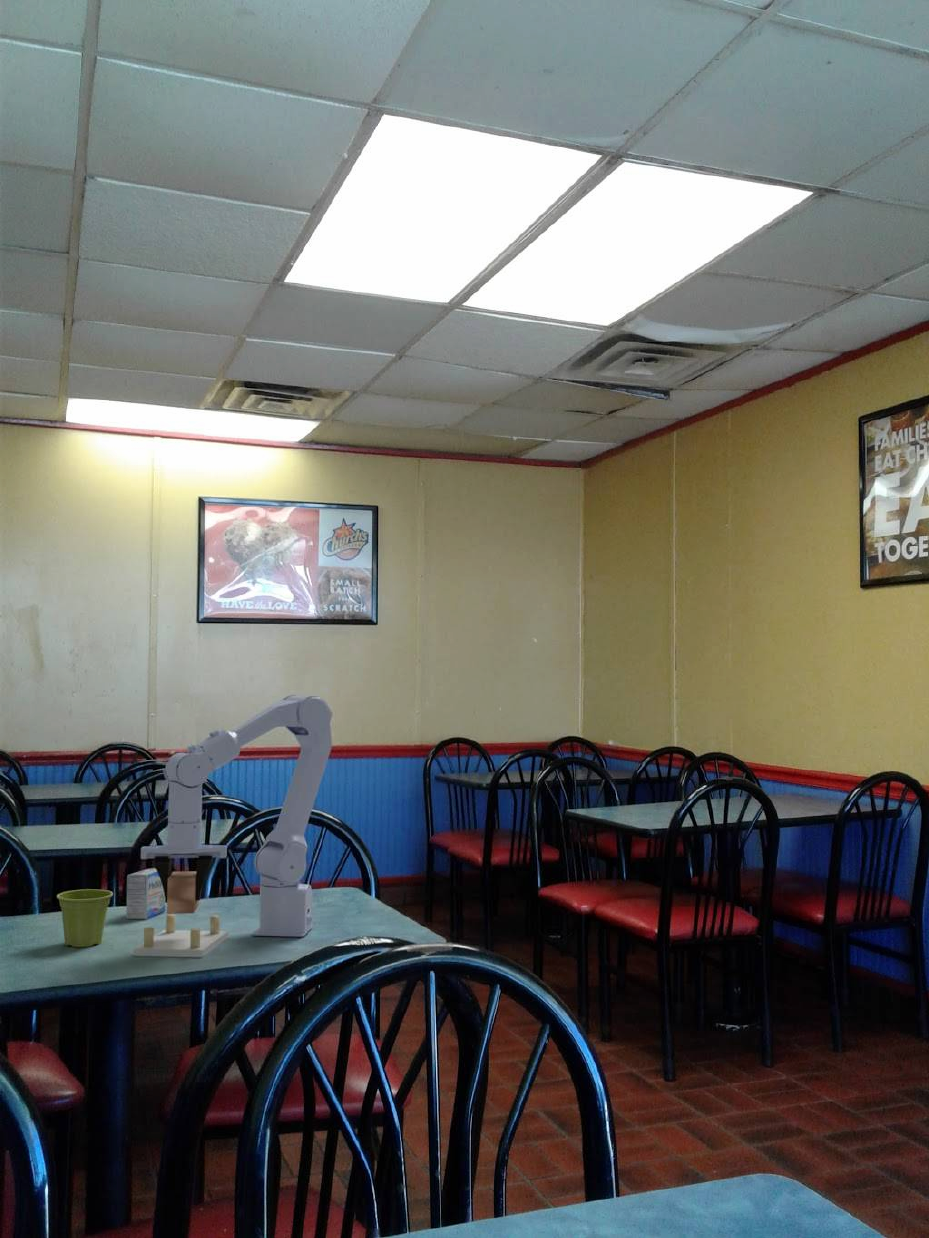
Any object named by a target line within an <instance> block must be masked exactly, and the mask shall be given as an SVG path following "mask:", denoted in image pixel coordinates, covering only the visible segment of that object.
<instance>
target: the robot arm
mask: <svg viewBox="0 0 929 1238" xmlns="http://www.w3.org/2000/svg"><path fill="white" fill-rule="evenodd" d="M332 718H333V712H332V710H331V709H330V706H329V705H328V703H327V701H326V700H325V699H324V698H323V697H321V696H319V695H317V694H316V695H296V694H289V695H286V696H285V697H284V698H282V699H280V700H276V701H274V702H273V703H272V704H270V705H269V706H268V707H266V708H264V709H263V710H261V711H260V712H258V713H257V714H256V715H254V716H253V717H251V718H249V719H248V720H247V721H245V722H243V723H242V724H240V725H239V726H237V727H236V728H235V729H233V730H231V731H229V730H226V729H220V730H219V729H214V730H211V731H210V732H209V733H208V734H209V736H208V737H207V738H205V739H204V740H201V741H200V742H198V743H197V744H190V745H188V746H187V748H186V749H187V752H177V753H174V754H173V755H171V757H169V758H168V761H167V762H166V764H165V768H163V770H162V771H163V776H164V778H165V779H166V781H167V782H168V807H167V808H168V809H167V810H168V811H167V816H168V817H167V845H166V844H165V845H152V846H149V845H148V846H145V845H144V846H142V847H141V848H140V859H141V860H148V859H154V862H153V866H154V868H156V870H157V872H158V875H159V877H160V879H161V882H162V885H163V889H164V894H165V902H167V888H168V878H169V876H170V875H171V874H172V866H173V865H172V864H173V859H195V858H197V859H196V862H195V868H196V870H195V871H196V875H197V882H196V901H199V902H200V900H201V899H202V893H203V892H202V891H203V887H204V883H205V880H206V877H207V874H208V872H209V870H210V867H211V865H212V863H213V861H214V858H219V859H226V858H227V855H228V853H227V852H228V850H227V849H228V846H227V845H225V844H224V845H217V844H216V845H214V844H202V822H203V821H202V819H203V818H202V813H203V811H202V810H203V784H204V783H205V782H206V781H207V779H208V776H209V775H211V774H212V773H214V772H215V771H216V770H218V769H220V768H221V767H223V766H224V765H226V764H229V762H232V761H233V760H234V759H236V758H238V757H239V756H240V753H241V749H242V747H243V746H245V745H247V744H248V743H250V742H252V741H254V740H256V739H257V738H259V737H262V736H263V735H266V733H269V732H270V731H272V730H274V729H276V728H279V727H285V728H286V729H287V730H288V731H289V732H290V733H291V734H292V735H293V736H294V737H295V739H296V741H297V742H298V745H299V746H300V749H301V750H300V752H299V756H298V758H297V760H296V765H295V767H294V771H293V774H292V777H291V780H290V782H289V786H288V789H287V792H286V795H285V798H284V802H283V805H282V808H281V811H280V814H279V817H278V820H277V823H276V825H275V828H274V829H273V830H272V831H271V832H269V834H267V836H266V838H265V840H264V842H263V844H262V846H261V847H260V848H259V850H258V851H257V852H256V854H255V856H254V860H253V861H254V862H253V864H254V869H255V872H257V874H258V875H259V877H260V879H259V888H260V889H259V926H258V928H256V929H255V931H253V932H252V936H257V937H258V936H260V937H296V938H298V937H305V936H306V934H307V933H308V932H309V931H311V929H313V889H312V885H311V884H308V883H307V884H305V883H302V882H301V881H300V880H302V878H303V877H304V875H305V873H306V869H307V859H306V856H307V852H308V844H307V841H306V838H305V836H304V835H305V833H306V828H307V826H308V823H309V819H310V817H311V814H312V811H313V807H314V804H315V801H316V798H317V794H318V792H319V788H320V786H321V782H322V779H323V777H324V773H325V771H326V770H325V769H326V765H327V763H328V760H329V758H330V757H329V756H330V753H331V750H332V747H333V741H332V729H331V721H332Z"/></svg>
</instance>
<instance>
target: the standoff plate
mask: <svg viewBox="0 0 929 1238" xmlns="http://www.w3.org/2000/svg"><path fill="white" fill-rule="evenodd" d="M176 917H177V915H176V914H166V915H165V918H166V920H165V921H166V922H165V929H163V930H161V931H159V932H158V933H156V934H155V928H154V927H152V926H151V927H150V926H149V927H144V928H143V941H142V943H140V944H138V945H136V946H135V947H133V956H134V957H138V956H139V957H140V956H141V957H170V958H171V957H173V958H174V957H176V958H177V957H178V958H179V957H180V958H204V957H206V956H207V955H208V954H209V953H210V952H213V950H215V949H216V948H218V946H219V945H221V944H222V943H224V942H225V941H226V940H228V938H229V931H228V930H226V931H225V930H220V915H218V914H215V915H213V914H212V915H210V916H209V917H210V918H209V919H210V920H209V930H201V929H200V928H197V927H196V928H191V929H189V930H185V929H183V930H182V929H176Z"/></svg>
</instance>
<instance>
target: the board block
mask: <svg viewBox="0 0 929 1238" xmlns="http://www.w3.org/2000/svg"><path fill="white" fill-rule="evenodd" d="M196 882H197V875H196V870H195V871H191V870H190V871H186V870H185V871H172V872H171V875H170V876H169V878H168V888H167V901H166V902H167V903H166V915H170V914H174V915H176V914H178V915H180V914H182V915H183V914H185V915H186V914H195V912H196V911H197V909H198V907H199V905H200V904H199V902H200V900H199V901H196Z"/></svg>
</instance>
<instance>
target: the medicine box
mask: <svg viewBox="0 0 929 1238" xmlns="http://www.w3.org/2000/svg"><path fill="white" fill-rule="evenodd" d="M165 912H166V901H165V894H164V889H163V885H162V882H161V879H160V877H159V875H158V872H157V870H156V868H155V867H153V868H146V869H142V870H139V871H137V872H133V873H130V874H128V875H127V877H126V919H128V920H130V919H131V920H144V921H146V920H149V919H151V918H154V917H156V916H158V915H160V914H162V913H165Z"/></svg>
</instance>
